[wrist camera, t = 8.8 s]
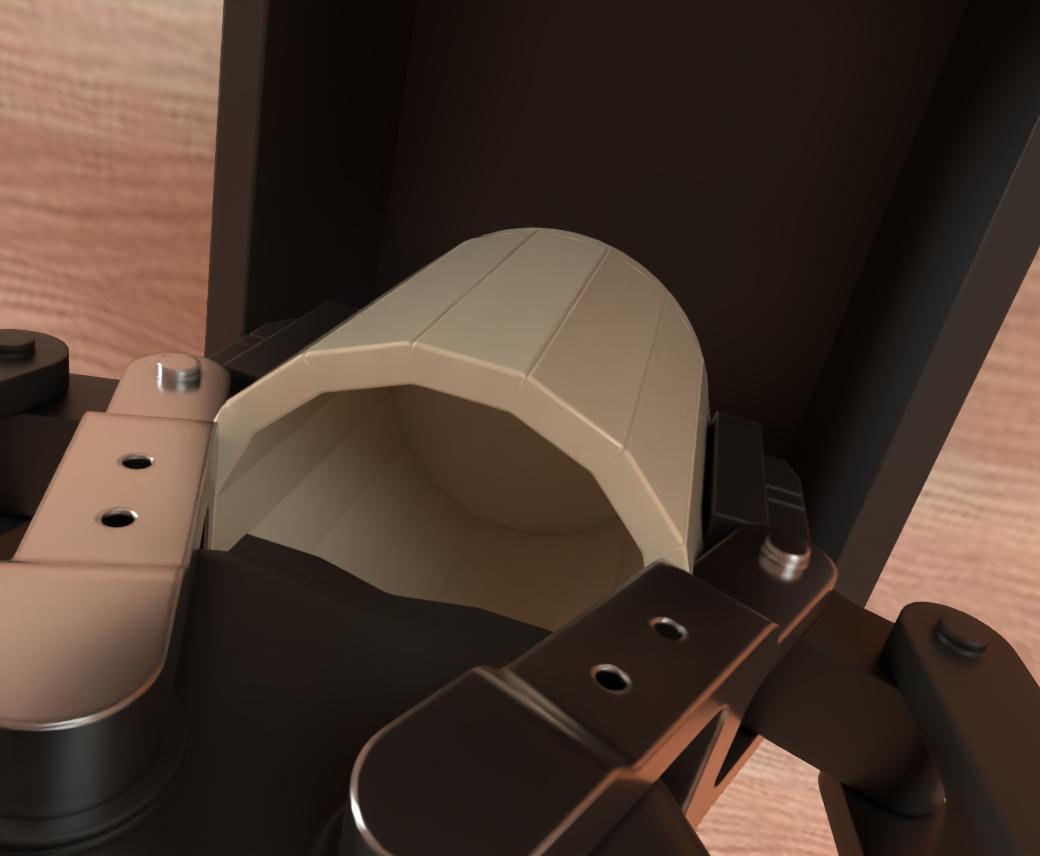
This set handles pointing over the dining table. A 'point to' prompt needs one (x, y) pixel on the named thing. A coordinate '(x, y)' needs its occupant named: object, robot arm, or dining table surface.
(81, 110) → the dining table surface
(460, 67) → the tapered storage bin
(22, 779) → the robot arm
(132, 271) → the dining table surface
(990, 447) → the dining table surface
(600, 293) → the creamer cup
